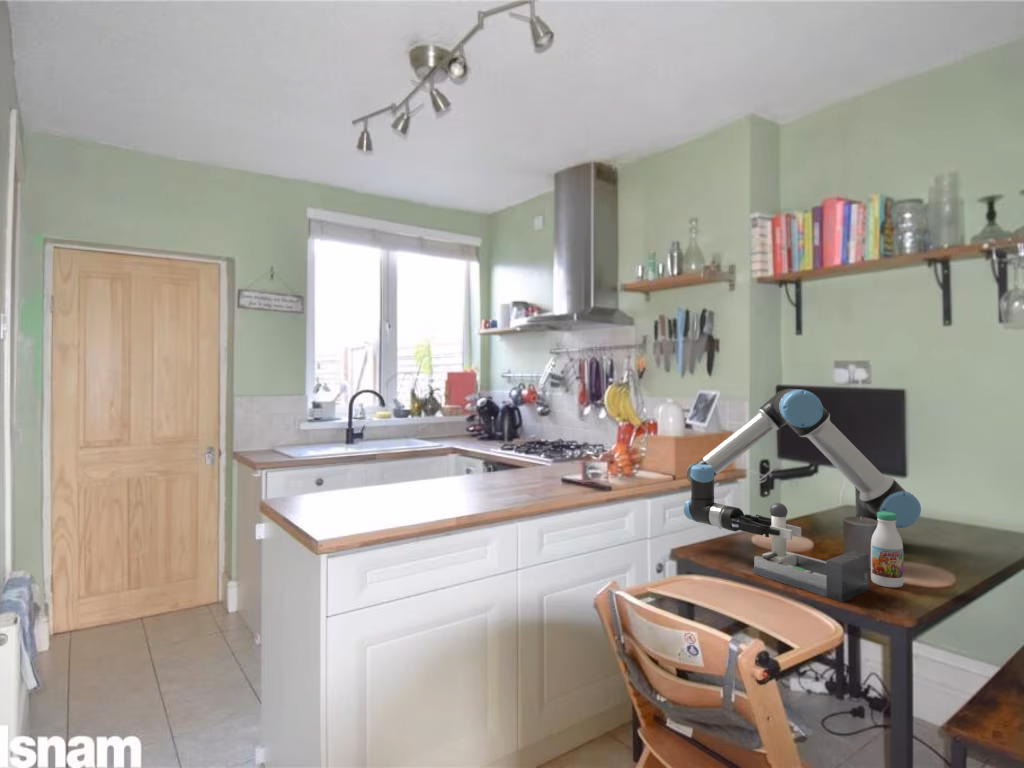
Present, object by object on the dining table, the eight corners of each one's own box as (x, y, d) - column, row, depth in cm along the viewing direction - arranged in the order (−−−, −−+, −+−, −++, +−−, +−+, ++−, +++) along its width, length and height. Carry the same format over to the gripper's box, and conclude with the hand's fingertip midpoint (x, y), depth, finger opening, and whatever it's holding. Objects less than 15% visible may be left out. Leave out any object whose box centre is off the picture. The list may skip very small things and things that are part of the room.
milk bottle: (864, 579, 167) (864, 510, 166) (889, 577, 167) (889, 509, 167) (884, 589, 159) (883, 517, 159) (910, 587, 160) (910, 515, 159)
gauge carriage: (755, 566, 172) (755, 504, 171) (777, 559, 178) (777, 499, 177) (774, 572, 167) (773, 508, 166) (796, 564, 173) (795, 503, 172)
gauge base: (753, 573, 173) (752, 540, 173) (780, 564, 180) (780, 532, 180) (841, 602, 151) (841, 564, 151) (868, 590, 159) (868, 553, 158)
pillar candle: (837, 559, 184) (836, 512, 184) (868, 558, 184) (868, 511, 183) (854, 570, 174) (853, 521, 174) (887, 569, 174) (887, 520, 174)
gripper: (743, 524, 193) (812, 541, 173) (710, 533, 184) (778, 552, 164) (743, 502, 193) (812, 516, 173) (710, 509, 183) (778, 525, 164)
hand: (795, 533), depth 168 cm, fingers closed on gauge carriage, 4 cm apart
